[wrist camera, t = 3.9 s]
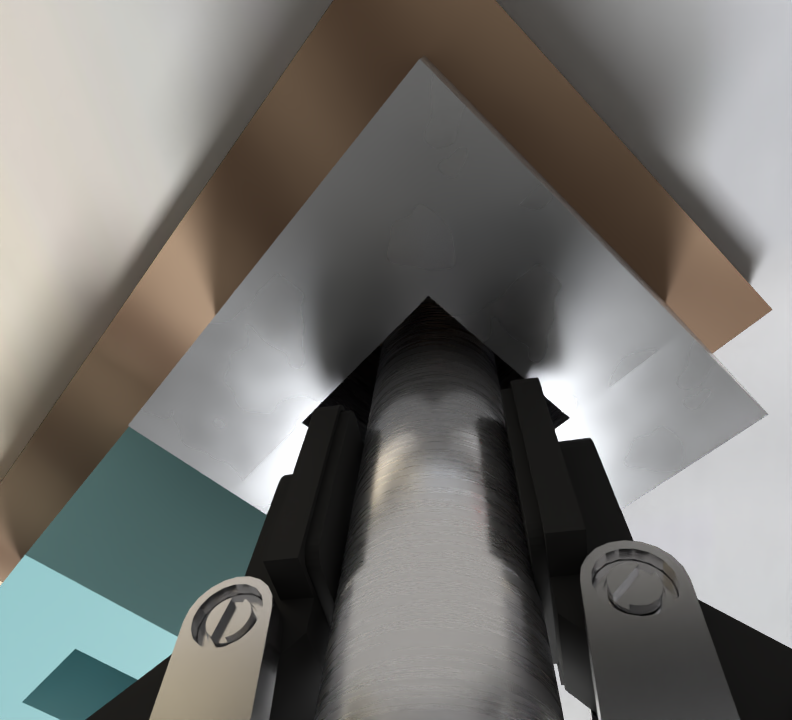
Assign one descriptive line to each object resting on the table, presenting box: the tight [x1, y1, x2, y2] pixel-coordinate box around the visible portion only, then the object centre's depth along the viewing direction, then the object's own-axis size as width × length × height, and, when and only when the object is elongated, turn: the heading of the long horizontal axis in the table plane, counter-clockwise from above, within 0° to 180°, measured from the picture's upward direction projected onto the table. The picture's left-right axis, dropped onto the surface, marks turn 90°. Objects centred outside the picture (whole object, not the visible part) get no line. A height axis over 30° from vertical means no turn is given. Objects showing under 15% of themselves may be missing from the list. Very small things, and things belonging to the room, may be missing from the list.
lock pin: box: [314, 296, 564, 720], centre depth 11 cm, size 5×5×15 cm
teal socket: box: [0, 427, 267, 720], centre depth 21 cm, size 10×10×6 cm
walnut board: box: [0, 0, 772, 582], centre depth 21 cm, size 30×15×2 cm, turn 139°
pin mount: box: [128, 56, 768, 515], centre depth 15 cm, size 10×10×6 cm
